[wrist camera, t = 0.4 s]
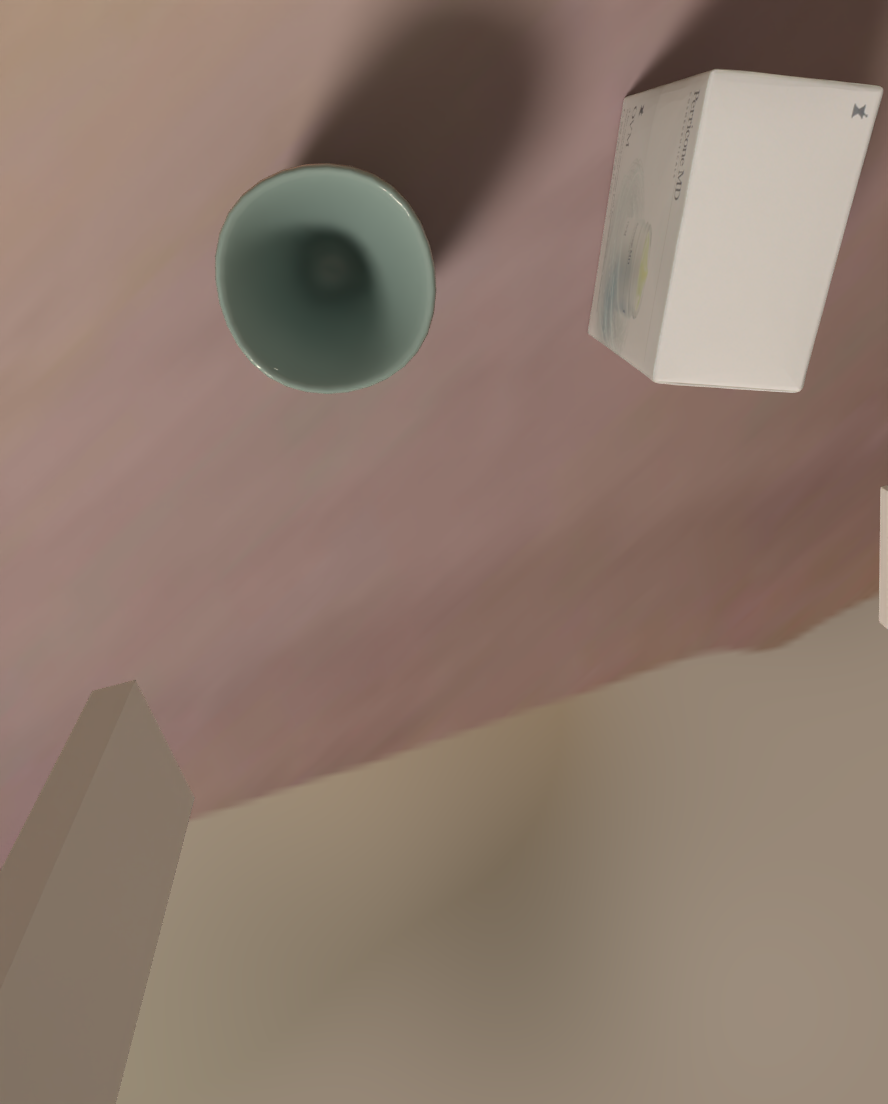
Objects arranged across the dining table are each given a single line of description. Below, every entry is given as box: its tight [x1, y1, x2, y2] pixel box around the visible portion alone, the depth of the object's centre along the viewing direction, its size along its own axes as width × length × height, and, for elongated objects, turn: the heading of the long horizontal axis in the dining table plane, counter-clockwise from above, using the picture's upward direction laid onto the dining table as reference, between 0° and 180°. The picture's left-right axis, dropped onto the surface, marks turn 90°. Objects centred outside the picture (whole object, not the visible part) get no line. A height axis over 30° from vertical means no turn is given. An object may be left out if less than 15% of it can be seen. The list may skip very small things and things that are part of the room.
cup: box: [215, 163, 436, 394], centre depth 32 cm, size 8×8×10 cm
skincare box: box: [588, 69, 883, 393], centre depth 33 cm, size 10×6×10 cm, turn 176°
